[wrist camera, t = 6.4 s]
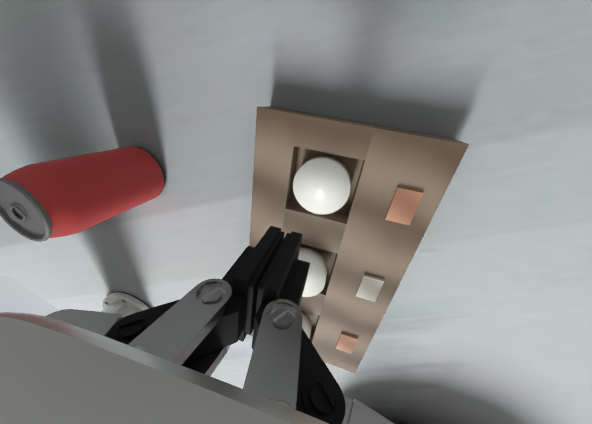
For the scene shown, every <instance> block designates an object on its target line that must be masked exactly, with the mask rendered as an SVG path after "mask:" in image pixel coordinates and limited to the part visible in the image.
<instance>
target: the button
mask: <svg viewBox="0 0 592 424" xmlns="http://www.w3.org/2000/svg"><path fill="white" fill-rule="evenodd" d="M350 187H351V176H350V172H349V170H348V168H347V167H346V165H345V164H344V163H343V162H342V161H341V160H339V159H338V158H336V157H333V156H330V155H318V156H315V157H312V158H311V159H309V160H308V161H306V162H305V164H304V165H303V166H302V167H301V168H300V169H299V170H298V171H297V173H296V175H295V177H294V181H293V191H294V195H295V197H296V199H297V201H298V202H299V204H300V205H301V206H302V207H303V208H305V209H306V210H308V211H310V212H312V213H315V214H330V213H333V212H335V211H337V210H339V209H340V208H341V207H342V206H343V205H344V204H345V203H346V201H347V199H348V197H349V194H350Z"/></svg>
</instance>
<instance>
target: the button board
mask: <svg viewBox="0 0 592 424" xmlns="http://www.w3.org/2000/svg"><path fill="white" fill-rule="evenodd" d="M468 145H469V144H466V143H463V142H461V141H458V140H455V139H452V138H446V137H440V136H435V135H429V134H423V133H418V132H412V131H406V130H401V129H395V128H389V127H383V126H378V125H372V124H366V123H361V122H355V121H349V120H344V119H338V118H332V117H326V116H321V115H315V114H309V113H304V112H298V111H292V110H287V109H281V108H275V107H257V118H256V136H255V155H254V173H253V191H252V210H251V228H250V246H252V247H255V246H256V245H257V244H258V242H259V241H260V240H261V238H262V237H263V236H264V234H265V233H266V231H267V230H268V229H269V227H270V226H274V227H278V228H281V229H282V232H285V234H284V238H285V236H286V234H287V233H290V234H291V232H292V231H293V232H297V233H301V234H302V240H301V246H300V247H307V248H311V249H313V250H315V251H317V252H318V253H320V254H321V255H322V256H323V258H324V259H325V261H326V263H327V267H328V271H327V276H326V281H325V286H324V288H323V290H322V291H321V292H320V293H319V294H317V295H315V296H312V297H302V298H301V302H300V305H299V308H300V310H301V311H302V312H304V313H305V314H306V315H307V316H308V317H309V318H310V320H311V322H312V329H311V334H310V338H309V339H310V341H311V342H312V344H313V346H314V347H315V349H316V350H317V352H318V353H319V355H320V357H321V358H322V360H323V361H324V362H326V363H329V364H332V365H334V366H337V367H340V368H343V369H345V370H348V371H351V372H354V373H355V372H356V370H357V368H358V366H359V364H360V362H361V360H362V358H363V356H364V354H365V352H366V350H367V348H368V346H369V344H370V342H371V340H372V338H373V336H374V334H375V332H376V330H377V328H378V326H379V324H380V322H381V320H382V318H383V316H384V314H385V312H386V310H387V308H388V306H389V304H390V302H391V300H392V298H393V296H394V294H395V292H396V290H397V288H398V286H399V284H400V282H401V280H402V278H403V276H404V274H405V272H406V270H407V268H408V266H409V264H410V262H411V260H412V258H413V256H414V254H415V252H416V250H417V248H418V246H419V244H420V242H421V240H422V238H423V236H424V234H425V232H426V230H427V228H428V226H429V224H430V222H431V220H432V217H433V215H434V213H435V211H436V209H437V207H438V205H439V203H440V201H441V199H442V197H443V195H444V193H445V191H446V189H447V187H448V185H449V183H450V181H451V179H452V177H453V175H454V173H455V171H456V169H457V167H458V165H459V163H460V161H461V159H462V157H463V155H464V153H465V151H466V149H467V147H468ZM318 155H330V156H333V157H336V158H338V159H339V160H341V161H342V162H343V163H344V164H345V165H346V167H347V168H348V170H349V172H350V176H351V187H350V194H349V197H348V199H347V201H346V203H345V204H344V205H343V206H342V207H341V208H340V209H339V210H337V211H335V212H333V213H330V214H315V213H312V212H310V211H308V210H306V209H305V208H303V207H302V206H301V205H300V204H299V202H298V201H297V199H296V197H295V195H294V191H293V181H294V177H295V175H296V173H297V171H298V170H299V169H300V168H301V167H302V166H303V165H304V164H305V162H306V161H308V160H309V159H311V158H312V157H315V156H318ZM253 330H254V329H253ZM251 336H253V332H252V333H251Z"/></svg>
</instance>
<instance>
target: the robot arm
mask: <svg viewBox="0 0 592 424" xmlns="http://www.w3.org/2000/svg"><path fill="white" fill-rule="evenodd" d="M284 234H285V232H282V229H281V228H278V227H274V226H270V227H269V229H268V230H267V231H266V233H265V234H264V236H263V237H262V238H261V240H260V241H259V242H258V244H257V245H256V246H255V247H252V246H248V247H247V248H246V249H245V251H244V252H243V253H242V254H241V256H240V257H239V258H238V259H237V261H236V262H235V263H234V265H233V266H232V267H231V268H230V270H229V271H228V272H227V273H226V275H225V276H224V277H223V279H222V280H221V279H208V280H205V281H203V282H201V283H199V284H198V285H197V286H195V287H194V288H193V289H192V290H191V291H190V292H188V293H187V294H186V295H185V296H184V297H183V298H182V299H180V300H177V301H174V302H170V303H167V304H163V305H160V306H157V307H153V308H149V307H147V306H146V305H145V304H144V303H143V302H141V301H140V300H138V299H136V298H135V297H133V296H131V295H128V294H125V293H120V292H115V293H111V294H110V295H108V296H107V297H106V298H105V299H104V300H103V308H104V310H103V311H101V312H95V311H85V310H74V309H66V310H60V311H57V312H54V313H51V314H49V315H47V316H40V315H34V314H27V313H11V312H3V313H0V424H394V423H392V422H391V421H389V420H388V419H386V418H385V417H383V416H382V415H380V414H378V413H377V412H375V411H374V410H372V409H371V408H369V407H368V406H366V405H365V404H363V403H361V402H360V401H358V400H357V399H354V401H353V400H351V399H350V398H348V397H347V396H345V395H344V394H343V393H342V391H341V389H340V387H339V385H338V383H337V382H336V380H335V379H334V377H333V376H332V374H331V372H330V371H329V369H328V368H327V366H326V364H325V363H324V361H323V360H322V358H321V357H320V355H319V353H318V352H317V350H316V349H315V347H314V346H313V344H312V342H311V341H310V339H309V338H308V336H307V335H306V333H305V331H304V330H303V328H302V321H303V317H302V312H301V310H300V308H299V305H300V302H301V298H302V295H303V291H304V287H305V284H306V280H307V276H308V271H309V267H310V263H309V262H306V261H302V260H298V256H299V251H300V246H301V240H302V234H301V233H297V232H293V231H292V232H291V234H290V233H287V234H286V236H285V238H284ZM253 329H254V330H253ZM252 332H253V340H252V349H253V353H252V357H251V360H250V364H249V368H248V372H247V375H246V379H245V383H244V387H243V389H241V388H238V387H236V386H233V385H231V384H228V383H226V382H223V381H220V380H218V379H215V378H213V377H210V376H211V374H212V373H213V371H214V370H215V369H216V367H217V366H218V364H219V363H220V361H221V360H222V359H223V357H224V356H225V354H226V353H227V351H228V350H229V348H230V345H231V344H233V343H236V342H237V341H238V340H240V341H244V339H245V337H246V335H247V334H249V335H251V333H252Z"/></svg>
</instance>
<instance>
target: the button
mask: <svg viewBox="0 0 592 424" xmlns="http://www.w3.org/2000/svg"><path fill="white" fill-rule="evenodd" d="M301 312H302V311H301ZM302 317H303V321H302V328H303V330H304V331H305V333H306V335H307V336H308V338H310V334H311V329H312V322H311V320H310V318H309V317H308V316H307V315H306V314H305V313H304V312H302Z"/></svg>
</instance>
